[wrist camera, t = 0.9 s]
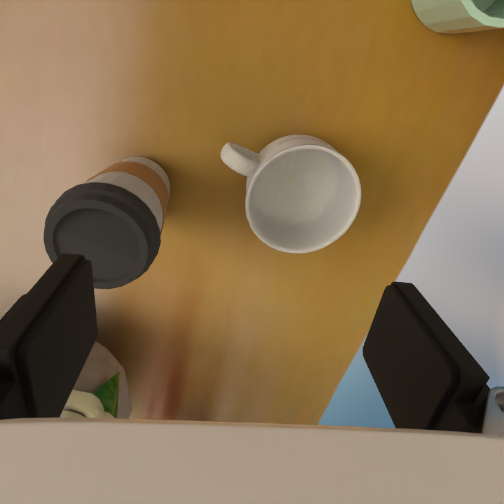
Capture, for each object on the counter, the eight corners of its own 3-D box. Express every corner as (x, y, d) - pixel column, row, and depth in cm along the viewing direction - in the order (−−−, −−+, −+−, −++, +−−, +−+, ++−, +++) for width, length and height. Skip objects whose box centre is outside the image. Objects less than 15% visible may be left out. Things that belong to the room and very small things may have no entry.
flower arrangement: (189, 326, 49) (159, 536, 27) (114, 430, 58) (47, 649, 36) (-1, 240, 41) (-253, 436, 20) (-53, 375, 50) (-263, 611, 29)
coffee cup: (115, 131, 36) (49, 171, 23) (191, 166, 38) (172, 222, 25) (93, 201, 40) (24, 271, 26) (164, 230, 42) (134, 308, 28)
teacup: (358, 175, 40) (385, 200, 33) (289, 240, 43) (301, 275, 36) (269, 82, 35) (279, 87, 28) (199, 164, 38) (192, 187, 31)
